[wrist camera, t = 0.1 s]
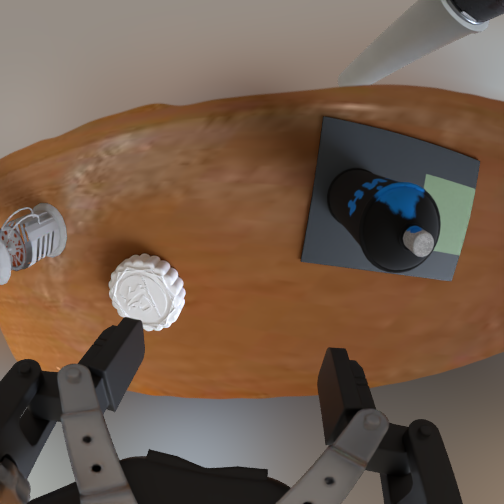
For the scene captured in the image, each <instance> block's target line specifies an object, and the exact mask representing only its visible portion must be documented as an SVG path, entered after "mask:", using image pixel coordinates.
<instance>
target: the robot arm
mask: <svg viewBox="0 0 504 504" xmlns="http://www.w3.org/2000/svg"><path fill="white" fill-rule="evenodd" d="M446 1H447V3H448V5H449V6H450V7H451V9H452V10H453V11H454V12H455V13H456V14H457V15H458V16H459V17H460V18H461V19H463V20H464V21H466V22H468V23H470V24H473V25H480V24H482V23H484V22H485V21H487V20H490V19H492V18H494V17H497V16H499V15H501V14H504V0H446ZM144 353H145V345H144V334H143V323H142V321H141V320H138V319H133V318H129V317H124V318H123V320H122V321H121V322H120V323H119V325H118V326H114V325H112V326H111V327H109V328H107V329H106V330H104V331H103V332H102V333H101V335H100V336H99V337H98V339H97V340H96V341H95V342H94V345H92V346H91V347H90V349H89V350H88V351H87V352H86V354H85V355H84V356H83V358H82V359H81V360H80V361H79V363H78V364H69V365H66V366H64V367H63V368H62V369H61V370H60V371H59V372H48V371H42V370H41V367H40V365H39V363H38V362H36V361H35V360H32V359H24V360H21V361H18V362H17V363H15V364H14V365H13V367H12V368H11V369H10V370H9V372H8V373H7V374H6V375H5V376H4V378H3V379H2V380H1V381H0V504H341V503H342V502H343V501H344V499H345V498H346V497H347V495H348V493H349V492H350V491H351V490H352V488H353V487H354V485H355V484H356V482H357V481H358V479H359V478H360V476H361V475H362V473H363V472H364V470H368V471H373V472H378V473H380V477H381V484H382V491H383V497H384V504H463V503H462V500H461V496H460V492H459V489H458V486H457V482H456V479H455V476H454V473H453V470H452V467H451V464H450V461H449V458H448V455H447V452H446V449H445V447H444V443H443V441H442V438H441V435H440V433H439V430H438V428H437V427H436V426H435V425H434V424H433V423H432V422H430V421H427V420H424V419H418V420H415V421H413V422H412V423H411V424H410V425H409V427H406V426H400V425H396V424H392V423H389V421H388V419H387V417H386V416H385V415H384V414H383V413H382V412H380V411H378V410H376V407H375V405H374V401H373V398H372V395H371V392H370V389H369V386H368V383H367V380H366V379H365V374H364V371H363V368H362V367H361V366H360V365H359V364H358V363H357V362H356V361H355V360H349V357H348V354H347V351H346V349H344V348H330V347H329V348H328V349H327V351H326V354H325V357H324V360H323V363H322V366H321V369H320V372H319V375H318V383H317V386H318V393H319V400H320V407H321V414H322V421H323V428H324V436H325V444H326V445H330V446H329V447H328V448H327V449H326V450H325V451H324V452H323V454H322V455H321V456H320V457H319V458H318V459H317V460H316V462H315V463H314V464H313V465H312V466H311V467H310V468H309V470H308V471H307V472H306V473H305V474H304V475H303V476H302V477H301V478H300V479H299V480H298V482H296V484H295V485H294V486H293V487H292V488H290V487H289V486H287V485H286V484H284V483H282V482H280V481H278V480H275V479H273V478H269V477H267V475H268V470H267V469H257V468H247V467H238V466H237V467H224V468H204V467H201V466H199V465H196V464H194V463H192V462H189V461H187V460H185V459H182V458H180V457H178V456H174V455H170V454H166V453H161V452H158V451H154V450H150V449H149V451H148V454H147V456H140V457H130V458H126V459H122V460H119V458H118V455H117V453H116V450H115V448H114V445H113V442H112V439H111V437H110V434H109V431H108V428H107V425H106V423H105V419H104V416H103V414H104V412H105V410H106V409H108V410H111V411H114V412H115V411H116V409H117V407H118V405H119V404H120V402H121V400H122V398H123V396H124V394H125V392H126V390H127V388H128V387H129V385H130V383H131V381H132V379H133V377H134V375H135V374H136V372H137V370H138V368H139V366H140V364H141V362H142V361H143V358H144ZM26 408H27V409H26ZM25 409H26V410H25ZM24 411H25V412H24ZM23 412H24V413H23ZM22 414H23V415H22ZM21 415H22V416H21ZM20 417H21V418H20ZM57 421H58V422H61V423H62V428H63V432H64V437H65V442H66V446H67V450H68V455H69V458H70V462H71V466H72V469H73V473H74V477H75V480H76V482H74V483H71V484H69V485H67V486H64V487H62V488H60V489H57V490H55V491H53V492H50V493H48V494H46V495H43V496H40V497H38V498H35V499H33V500H31V501H29V500H30V490H31V489H30V484H29V482H28V480H27V478H28V476H29V474H30V472H31V470H32V468H33V466H34V464H35V462H36V460H37V458H38V456H39V454H40V452H41V450H42V448H43V446H44V444H45V443H46V441H47V439H48V437H49V435H50V433H51V431H52V429H53V428H54V426H55V424H56V422H57Z"/></svg>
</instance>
